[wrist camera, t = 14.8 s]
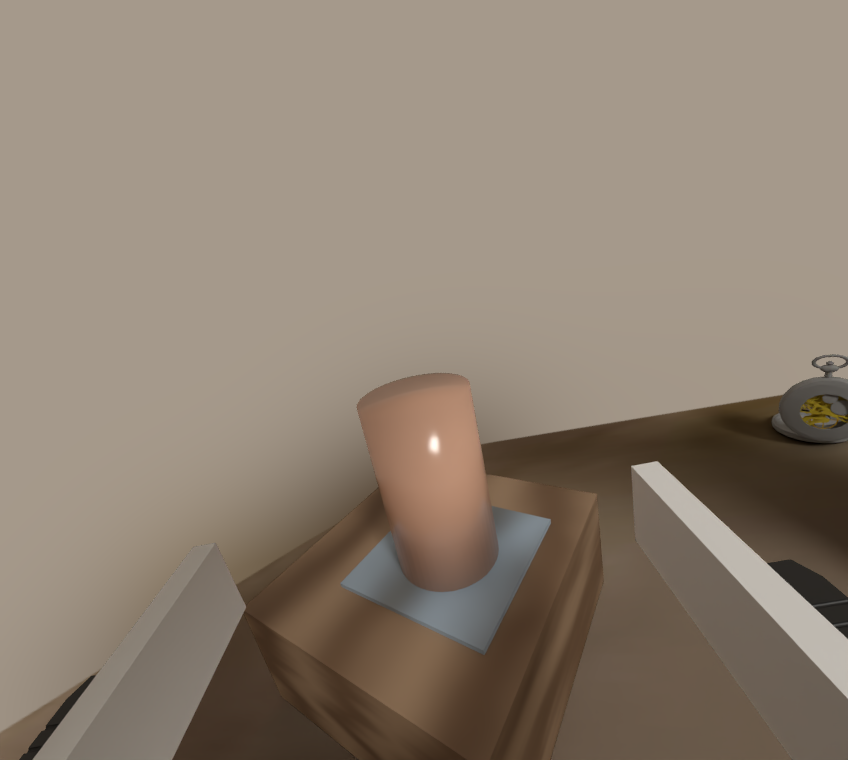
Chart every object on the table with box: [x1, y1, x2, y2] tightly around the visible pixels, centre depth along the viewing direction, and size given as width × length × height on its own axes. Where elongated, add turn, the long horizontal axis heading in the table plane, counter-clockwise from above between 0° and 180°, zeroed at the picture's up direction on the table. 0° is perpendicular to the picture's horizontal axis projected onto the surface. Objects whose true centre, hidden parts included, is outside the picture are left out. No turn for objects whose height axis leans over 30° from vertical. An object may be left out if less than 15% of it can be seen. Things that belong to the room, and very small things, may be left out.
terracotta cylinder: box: [357, 373, 499, 592], centre depth 24 cm, size 6×6×11 cm
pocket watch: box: [772, 354, 848, 443], centre depth 41 cm, size 8×8×10 cm
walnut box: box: [244, 474, 604, 760], centre depth 28 cm, size 17×18×8 cm
